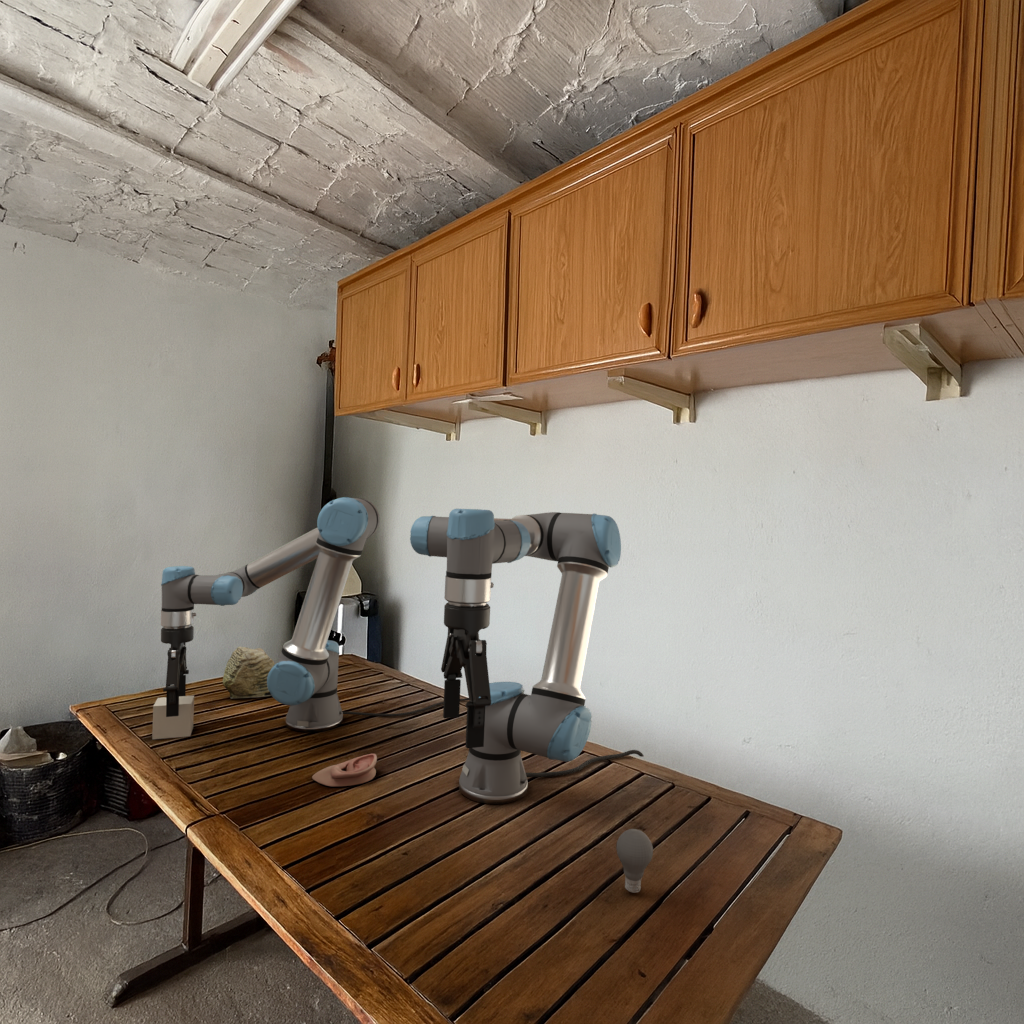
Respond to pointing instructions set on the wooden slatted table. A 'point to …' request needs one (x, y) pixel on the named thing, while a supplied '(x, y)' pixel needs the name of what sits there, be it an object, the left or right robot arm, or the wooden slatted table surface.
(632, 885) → the light bulb
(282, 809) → the wooden slatted table surface
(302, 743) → the wooden slatted table surface
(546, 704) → the right robot arm
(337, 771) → the anatomical model
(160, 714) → the beige block
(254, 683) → the fossil
